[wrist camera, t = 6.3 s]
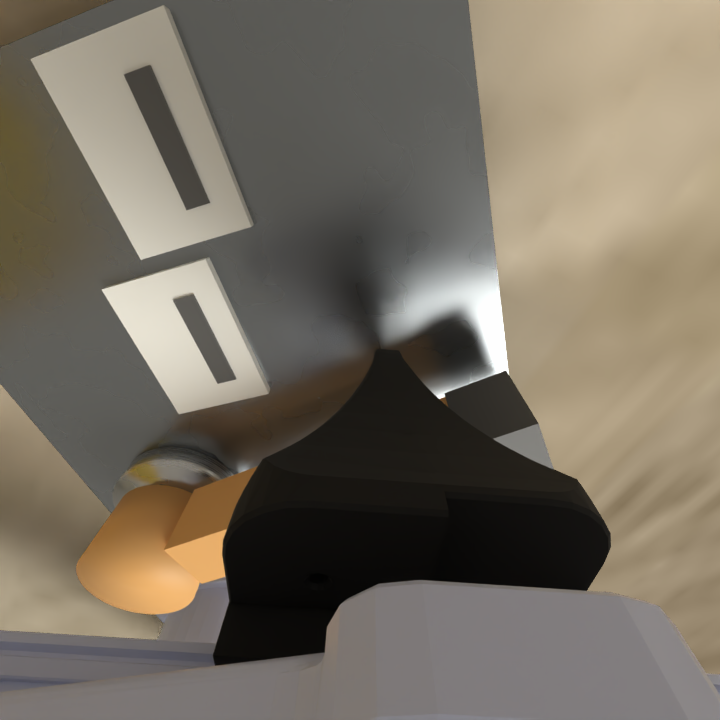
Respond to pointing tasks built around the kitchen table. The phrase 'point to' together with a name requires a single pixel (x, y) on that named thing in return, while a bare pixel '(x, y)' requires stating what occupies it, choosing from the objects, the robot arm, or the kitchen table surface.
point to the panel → (258, 232)
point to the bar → (216, 505)
